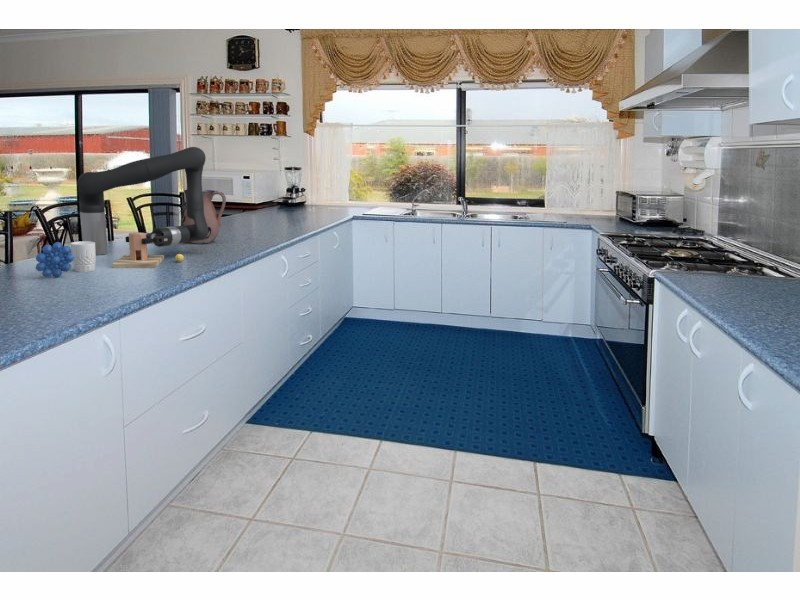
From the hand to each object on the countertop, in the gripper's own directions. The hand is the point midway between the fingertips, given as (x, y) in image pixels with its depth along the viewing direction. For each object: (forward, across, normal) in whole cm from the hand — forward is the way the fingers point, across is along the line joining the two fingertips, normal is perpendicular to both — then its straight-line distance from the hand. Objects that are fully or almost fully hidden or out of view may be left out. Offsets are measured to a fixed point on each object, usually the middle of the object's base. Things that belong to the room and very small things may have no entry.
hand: (134, 240), depth 239 cm
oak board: (-2, 0, +9) cm, 9 cm away
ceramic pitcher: (-59, -20, +9) cm, 63 cm away
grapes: (+33, -1, +9) cm, 34 cm away
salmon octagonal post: (-2, 0, +8) cm, 8 cm away
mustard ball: (-13, +10, +7) cm, 18 cm away
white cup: (+20, -3, +9) cm, 22 cm away
